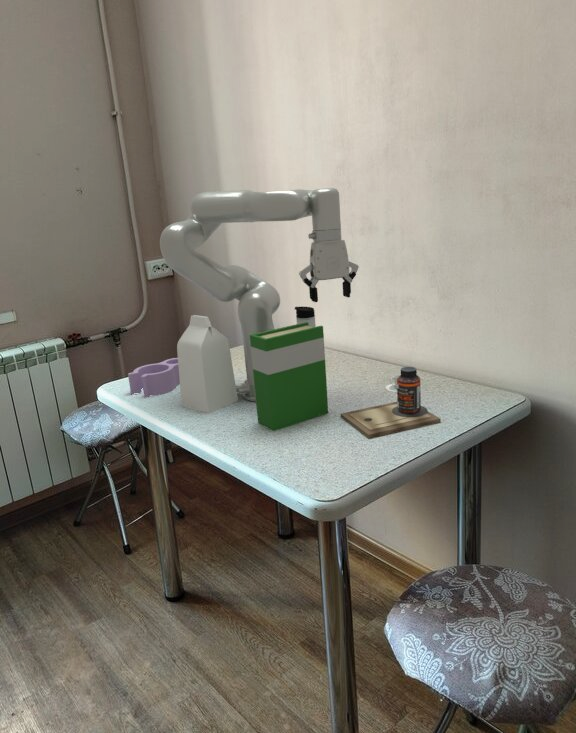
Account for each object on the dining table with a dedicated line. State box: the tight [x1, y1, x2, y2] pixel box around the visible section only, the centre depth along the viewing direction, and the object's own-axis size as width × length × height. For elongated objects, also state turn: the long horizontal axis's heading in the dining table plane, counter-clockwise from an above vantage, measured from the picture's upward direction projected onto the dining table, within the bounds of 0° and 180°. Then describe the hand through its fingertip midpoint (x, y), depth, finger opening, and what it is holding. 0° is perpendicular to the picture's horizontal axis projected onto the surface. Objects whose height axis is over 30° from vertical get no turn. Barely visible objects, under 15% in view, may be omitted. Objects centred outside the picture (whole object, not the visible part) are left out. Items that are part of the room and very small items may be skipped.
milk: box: [176, 314, 239, 414], centre depth 176 cm, size 12×12×26 cm
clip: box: [127, 357, 180, 398], centre depth 198 cm, size 20×12×7 cm, turn 142°
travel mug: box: [294, 306, 317, 327], centre depth 207 cm, size 6×7×20 cm
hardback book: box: [250, 322, 329, 432], centre depth 160 cm, size 18×7×24 cm, turn 124°
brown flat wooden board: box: [340, 401, 442, 439], centre depth 157 cm, size 20×16×1 cm
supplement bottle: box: [396, 366, 422, 414], centre depth 157 cm, size 6×6×11 cm
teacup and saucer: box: [385, 373, 401, 393], centre depth 180 cm, size 9×8×4 cm
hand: (330, 299), depth 170 cm, fingers open, 9 cm apart
